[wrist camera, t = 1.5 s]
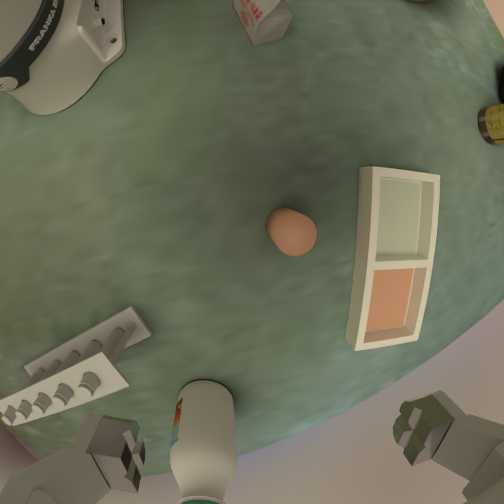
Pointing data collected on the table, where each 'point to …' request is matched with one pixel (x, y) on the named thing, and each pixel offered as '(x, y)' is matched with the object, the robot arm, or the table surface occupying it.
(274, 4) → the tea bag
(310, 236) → the brown egg
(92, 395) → the test tube rack
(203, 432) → the milk bottle
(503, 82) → the squash
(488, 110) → the sauce bottle
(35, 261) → the table surface
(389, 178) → the sorting tray
